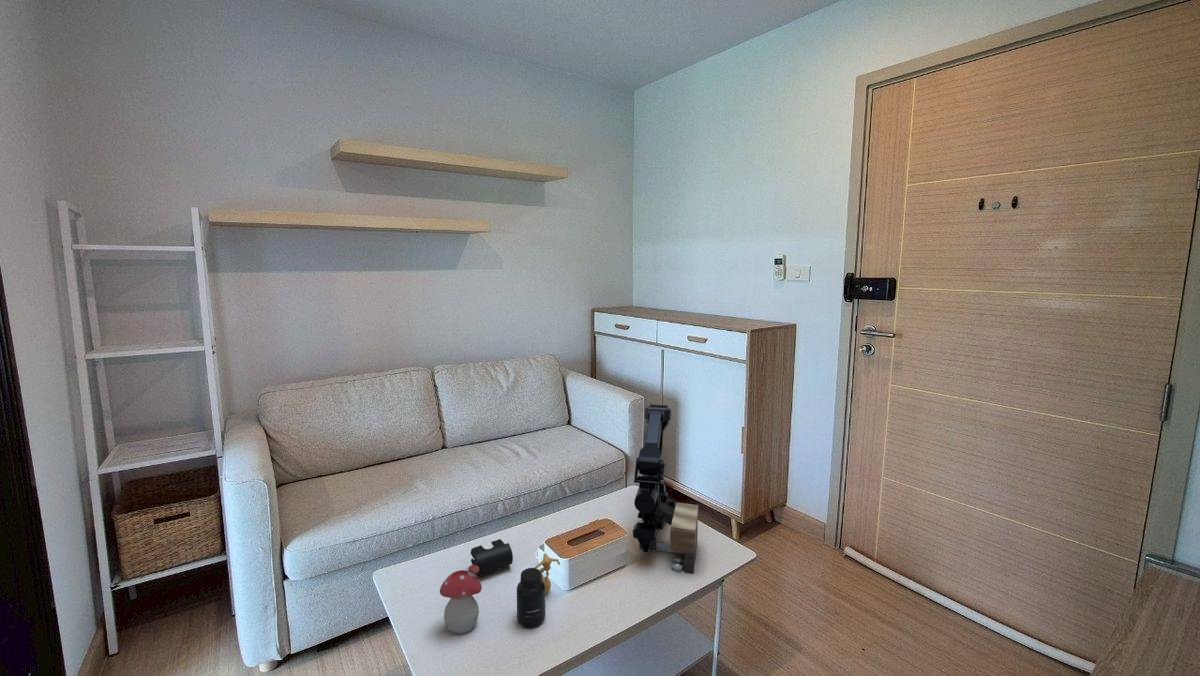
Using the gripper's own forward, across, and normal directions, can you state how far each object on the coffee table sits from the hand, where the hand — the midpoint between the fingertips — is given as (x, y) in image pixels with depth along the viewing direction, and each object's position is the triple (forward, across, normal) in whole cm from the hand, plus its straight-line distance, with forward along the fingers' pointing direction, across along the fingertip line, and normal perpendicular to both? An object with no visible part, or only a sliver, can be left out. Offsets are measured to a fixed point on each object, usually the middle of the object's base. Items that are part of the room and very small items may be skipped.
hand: (648, 544), depth 149 cm
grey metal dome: (+1, -8, -10) cm, 12 cm away
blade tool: (+1, 0, -4) cm, 4 cm away
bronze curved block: (+1, -2, -11) cm, 11 cm away
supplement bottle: (+1, -36, +22) cm, 42 cm away
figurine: (+1, -27, +22) cm, 35 cm away
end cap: (+1, -21, +40) cm, 46 cm away
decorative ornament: (+1, -42, +37) cm, 56 cm away
